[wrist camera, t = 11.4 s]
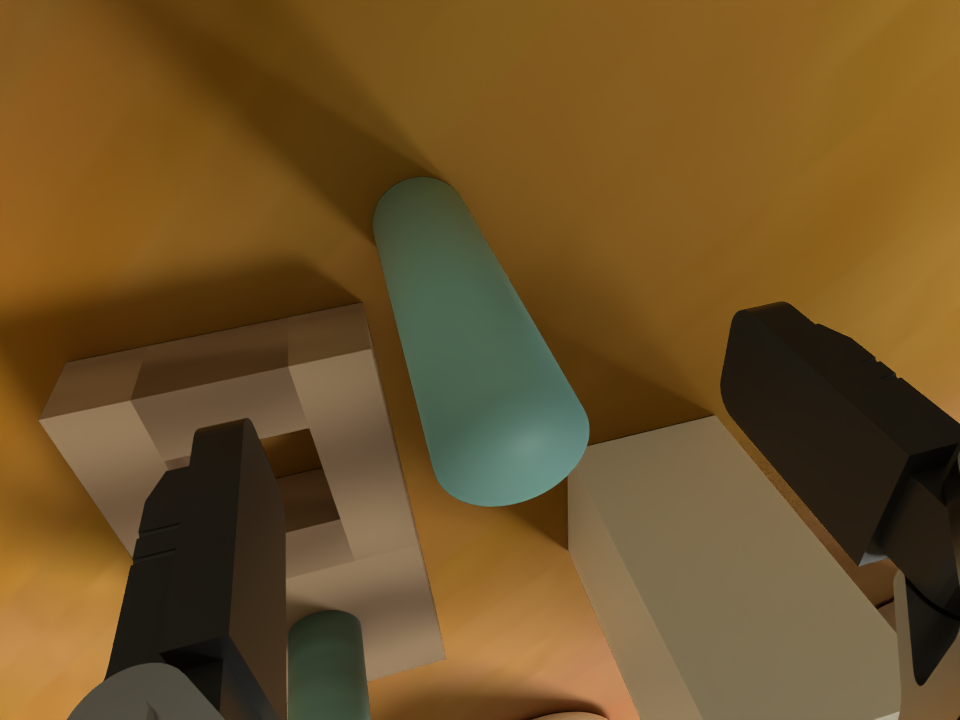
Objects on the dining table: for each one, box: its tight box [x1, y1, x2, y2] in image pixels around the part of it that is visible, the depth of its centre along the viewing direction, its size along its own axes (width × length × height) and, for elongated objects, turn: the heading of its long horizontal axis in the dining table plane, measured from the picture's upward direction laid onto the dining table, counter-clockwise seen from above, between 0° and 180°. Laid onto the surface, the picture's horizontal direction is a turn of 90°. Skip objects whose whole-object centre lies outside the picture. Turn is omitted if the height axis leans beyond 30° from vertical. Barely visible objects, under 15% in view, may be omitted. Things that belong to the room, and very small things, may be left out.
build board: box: [39, 302, 418, 579], centre depth 19 cm, size 8×8×2 cm
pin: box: [373, 177, 590, 507], centre depth 14 cm, size 3×3×9 cm
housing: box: [568, 415, 901, 720], centre depth 22 cm, size 6×6×11 cm
